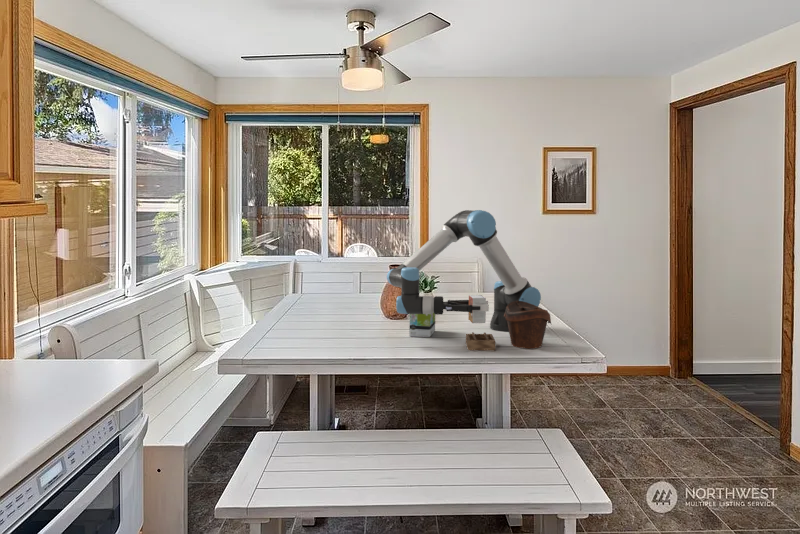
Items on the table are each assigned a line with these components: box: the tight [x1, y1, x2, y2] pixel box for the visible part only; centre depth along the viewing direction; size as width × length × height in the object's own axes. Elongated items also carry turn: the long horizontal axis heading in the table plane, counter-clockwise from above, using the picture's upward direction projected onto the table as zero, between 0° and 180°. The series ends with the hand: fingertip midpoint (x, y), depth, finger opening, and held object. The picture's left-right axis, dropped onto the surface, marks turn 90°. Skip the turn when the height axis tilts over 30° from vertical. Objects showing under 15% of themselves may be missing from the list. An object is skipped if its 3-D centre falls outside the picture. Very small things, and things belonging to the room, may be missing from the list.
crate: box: [465, 331, 496, 352], centre depth 245 cm, size 11×13×5 cm
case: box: [504, 301, 552, 350], centre depth 247 cm, size 18×20×18 cm
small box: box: [468, 294, 487, 324], centre depth 243 cm, size 8×6×10 cm
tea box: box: [408, 313, 436, 338], centre depth 271 cm, size 15×10×15 cm
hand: (488, 305), depth 242 cm, fingers closed on small box, 9 cm apart
